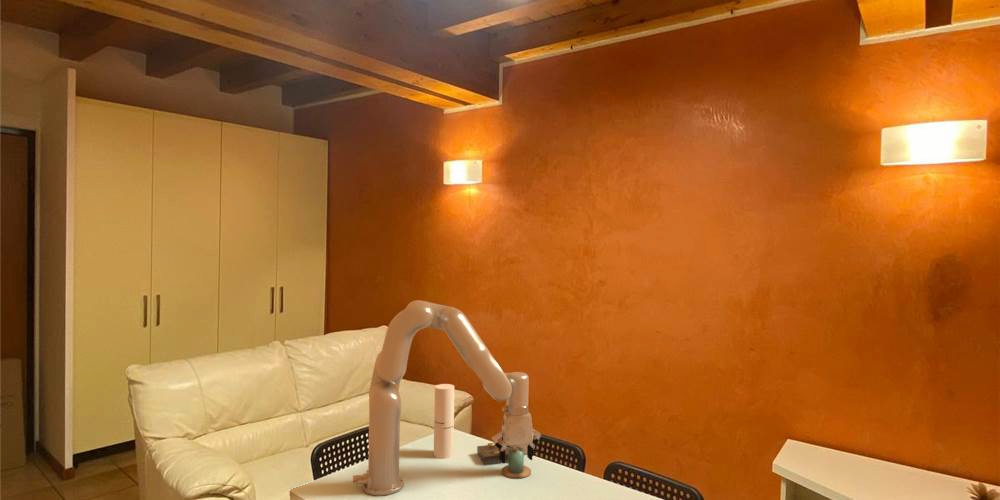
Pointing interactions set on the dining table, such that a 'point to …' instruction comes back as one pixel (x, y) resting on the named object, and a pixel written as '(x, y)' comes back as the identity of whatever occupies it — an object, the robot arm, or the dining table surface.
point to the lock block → (491, 454)
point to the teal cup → (516, 460)
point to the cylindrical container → (444, 421)
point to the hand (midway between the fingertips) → (516, 460)
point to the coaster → (516, 476)
